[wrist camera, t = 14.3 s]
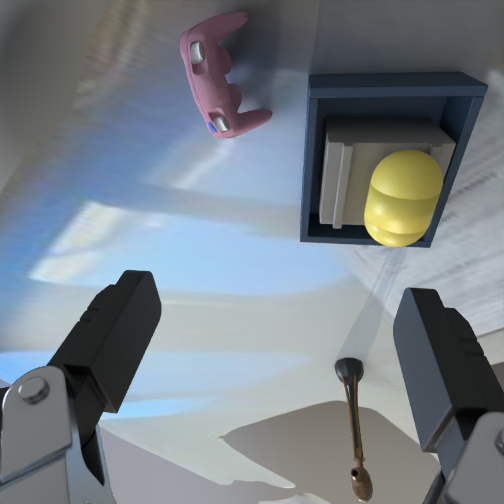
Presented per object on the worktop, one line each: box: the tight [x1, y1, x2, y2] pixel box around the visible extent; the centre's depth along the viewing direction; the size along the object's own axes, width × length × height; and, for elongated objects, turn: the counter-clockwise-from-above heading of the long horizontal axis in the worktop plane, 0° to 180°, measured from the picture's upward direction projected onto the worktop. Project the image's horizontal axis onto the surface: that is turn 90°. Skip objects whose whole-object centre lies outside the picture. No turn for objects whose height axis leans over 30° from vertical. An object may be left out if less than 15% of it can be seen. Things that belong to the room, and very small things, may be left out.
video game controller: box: [180, 11, 272, 138], centre depth 30 cm, size 10×5×7 cm, turn 17°
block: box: [318, 118, 456, 229], centre depth 32 cm, size 8×10×9 cm
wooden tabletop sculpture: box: [335, 358, 373, 502], centre depth 50 cm, size 6×5×20 cm
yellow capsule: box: [364, 149, 443, 247], centre depth 27 cm, size 8×5×5 cm
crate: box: [300, 72, 488, 248], centre depth 33 cm, size 16×14×6 cm
